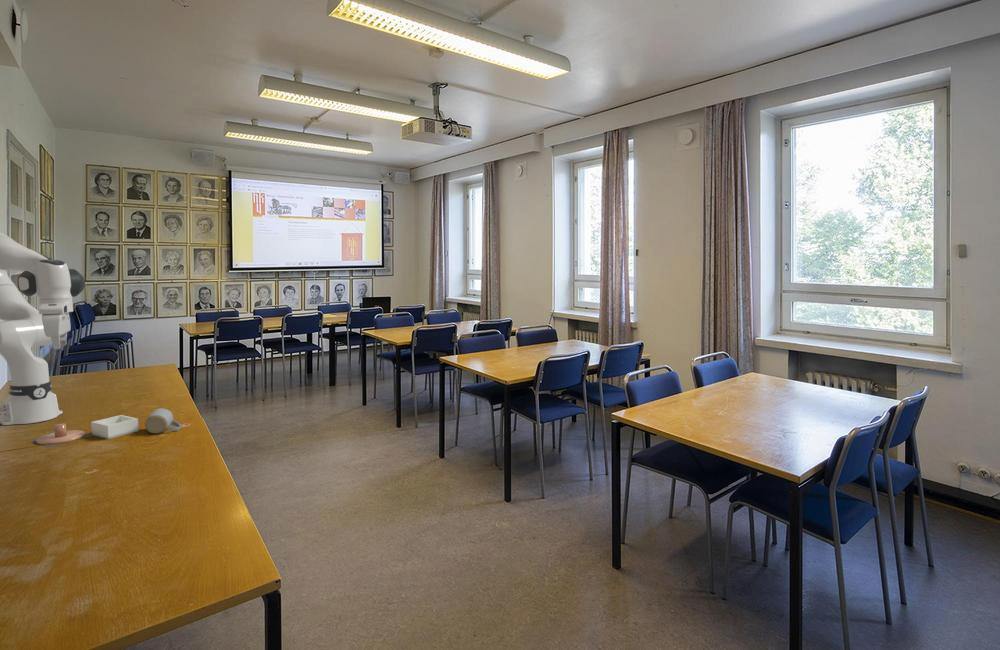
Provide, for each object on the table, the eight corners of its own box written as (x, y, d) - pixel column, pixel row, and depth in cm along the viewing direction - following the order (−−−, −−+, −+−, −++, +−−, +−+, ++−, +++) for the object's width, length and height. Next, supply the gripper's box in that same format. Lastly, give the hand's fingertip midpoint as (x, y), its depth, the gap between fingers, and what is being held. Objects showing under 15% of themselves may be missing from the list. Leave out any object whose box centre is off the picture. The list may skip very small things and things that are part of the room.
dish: (92, 435, 188) (91, 421, 187) (122, 428, 197) (121, 414, 196) (108, 440, 184) (107, 425, 183) (138, 432, 193) (137, 418, 192)
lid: (28, 440, 181) (26, 427, 180) (72, 430, 192) (71, 417, 192) (48, 446, 175) (47, 432, 174) (92, 435, 187) (91, 422, 186)
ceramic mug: (144, 435, 189) (143, 414, 188) (150, 428, 196) (149, 408, 195) (178, 433, 193) (177, 412, 192) (183, 426, 200) (182, 406, 199)
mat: (28, 441, 181) (28, 440, 181) (72, 431, 192) (72, 430, 192) (48, 448, 175) (48, 446, 175) (92, 436, 187) (92, 435, 187)
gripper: (51, 305, 190) (55, 344, 191) (37, 309, 172) (41, 351, 173) (74, 305, 193) (77, 342, 194) (62, 308, 175) (65, 350, 177)
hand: (60, 347), depth 184 cm, fingers open, 8 cm apart
